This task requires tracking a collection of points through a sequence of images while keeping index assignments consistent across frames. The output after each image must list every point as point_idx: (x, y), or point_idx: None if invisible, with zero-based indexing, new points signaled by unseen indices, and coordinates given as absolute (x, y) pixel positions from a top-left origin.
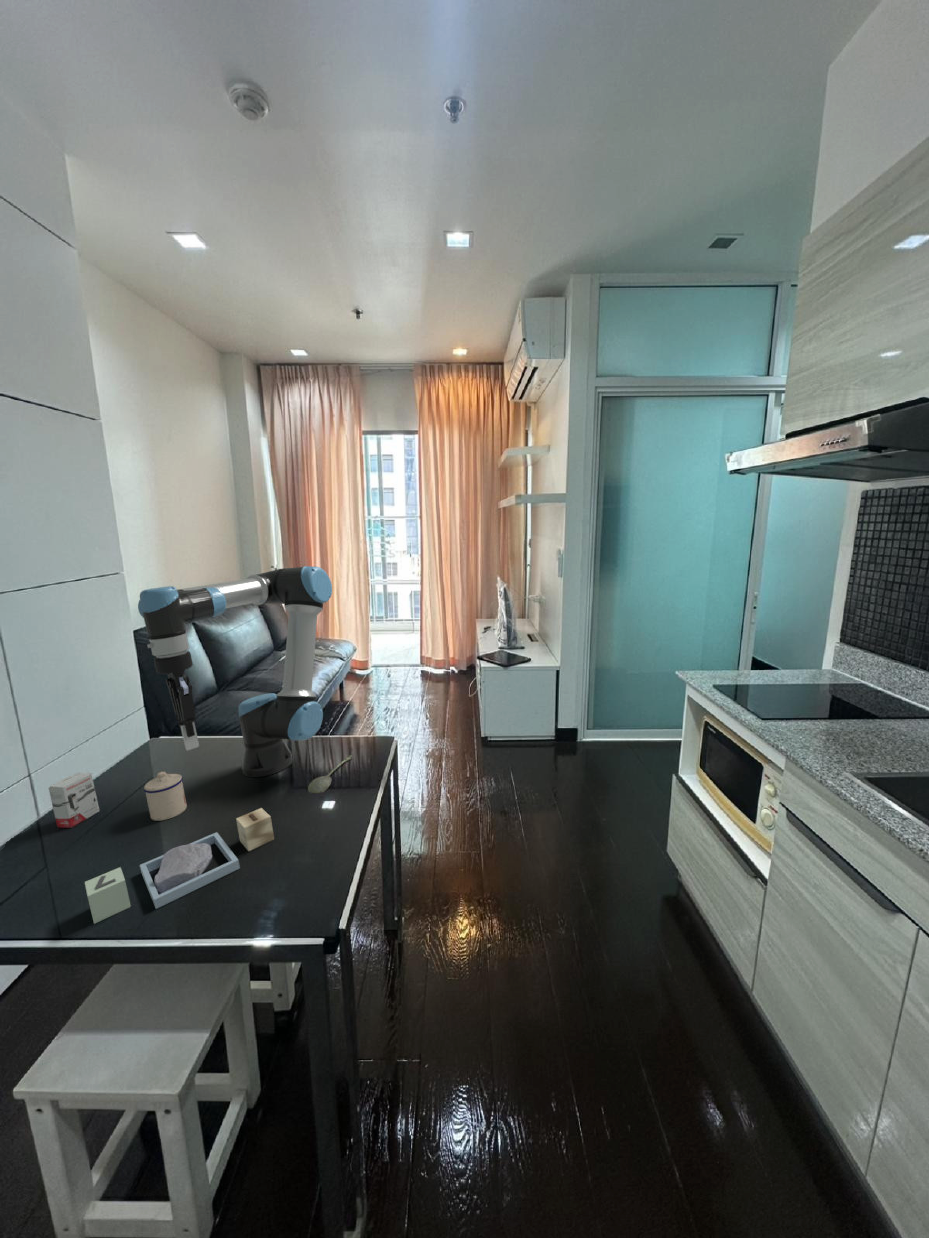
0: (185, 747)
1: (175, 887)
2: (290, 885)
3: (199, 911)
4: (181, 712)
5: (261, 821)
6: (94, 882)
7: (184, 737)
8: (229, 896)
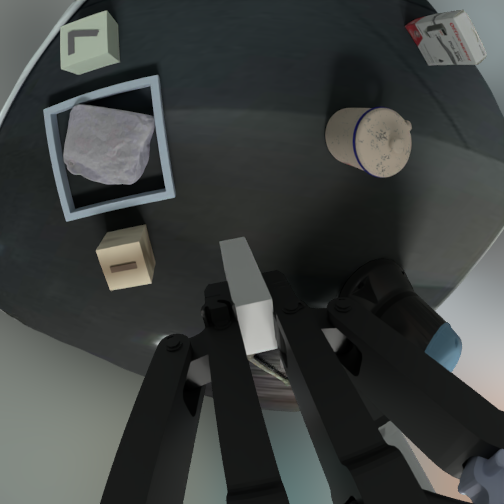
0: (238, 241)
1: (52, 135)
2: (16, 265)
3: (16, 165)
4: (212, 386)
5: (105, 275)
6: (91, 24)
7: (226, 269)
8: (24, 200)
